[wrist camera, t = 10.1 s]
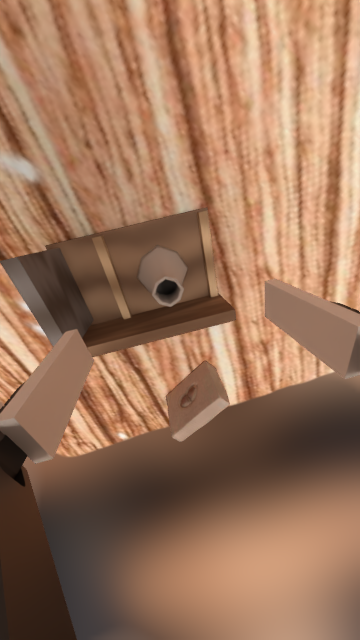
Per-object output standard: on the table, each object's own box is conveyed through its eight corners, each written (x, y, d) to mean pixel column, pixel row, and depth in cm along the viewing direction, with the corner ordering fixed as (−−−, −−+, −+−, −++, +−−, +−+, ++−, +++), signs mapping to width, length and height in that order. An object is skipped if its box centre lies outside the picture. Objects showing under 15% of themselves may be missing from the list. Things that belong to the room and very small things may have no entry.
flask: (168, 303, 31) (176, 334, 22) (128, 278, 28) (118, 301, 19) (195, 265, 29) (216, 282, 20) (155, 235, 26) (157, 238, 17)
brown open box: (49, 245, 26) (-5, 254, 17) (205, 208, 27) (233, 197, 18) (92, 331, 32) (69, 371, 23) (217, 299, 33) (242, 326, 24)
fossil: (204, 358, 38) (219, 396, 30) (215, 367, 40) (233, 405, 31) (165, 395, 41) (168, 439, 33) (177, 402, 43) (183, 445, 34)
